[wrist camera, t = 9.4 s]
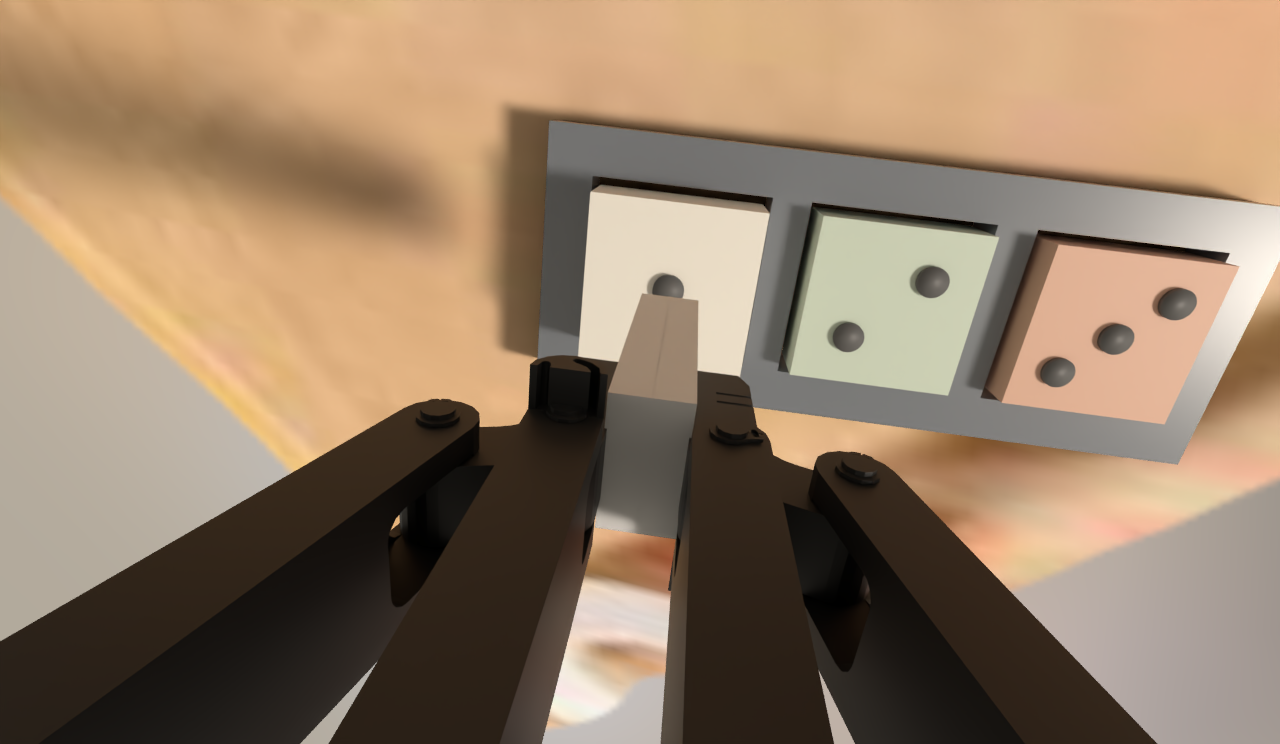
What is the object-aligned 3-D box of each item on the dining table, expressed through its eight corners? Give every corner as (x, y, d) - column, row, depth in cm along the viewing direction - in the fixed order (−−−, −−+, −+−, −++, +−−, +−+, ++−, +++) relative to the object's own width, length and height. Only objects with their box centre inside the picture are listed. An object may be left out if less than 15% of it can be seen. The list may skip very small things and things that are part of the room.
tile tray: (547, 360, 28) (536, 377, 26) (560, 120, 24) (549, 120, 22) (1144, 440, 27) (1177, 464, 25) (1256, 202, 23) (1305, 209, 21)
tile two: (781, 352, 26) (790, 376, 24) (811, 206, 24) (824, 216, 22) (926, 371, 26) (949, 397, 24) (970, 225, 24) (1001, 238, 21)
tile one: (588, 336, 26) (576, 360, 23) (601, 184, 23) (589, 192, 21) (735, 356, 25) (739, 381, 23) (762, 204, 23) (770, 214, 21)
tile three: (974, 377, 26) (1004, 404, 24) (1023, 232, 24) (1061, 245, 21) (1122, 397, 26) (1168, 426, 23) (1186, 252, 24) (1244, 267, 21)
